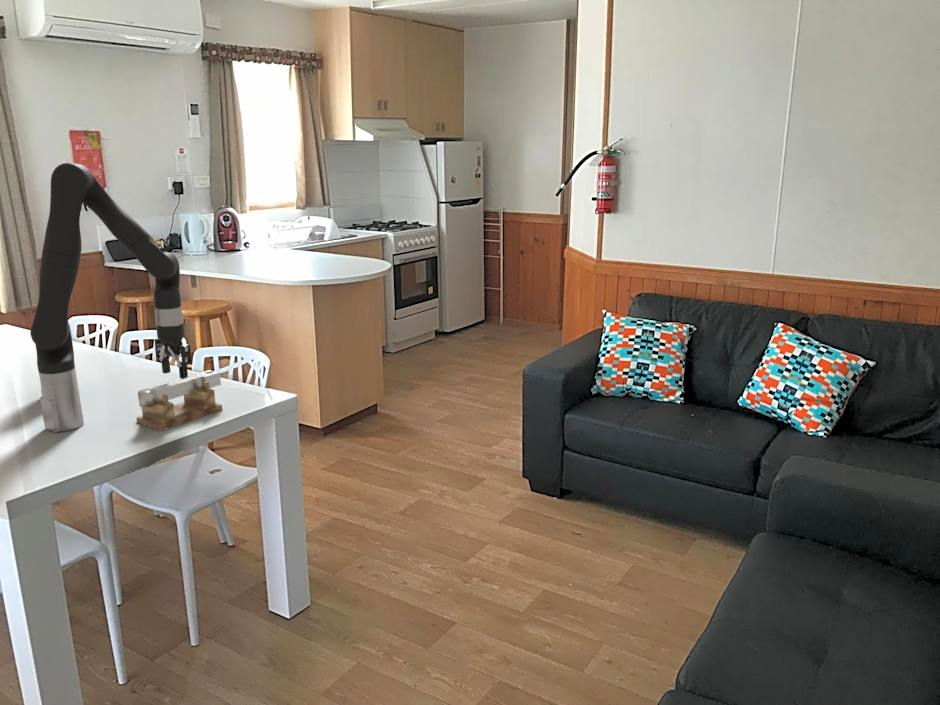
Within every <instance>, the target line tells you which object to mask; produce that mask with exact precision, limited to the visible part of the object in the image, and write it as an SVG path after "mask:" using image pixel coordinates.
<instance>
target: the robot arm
mask: <svg viewBox="0 0 940 705" xmlns="http://www.w3.org/2000/svg"><path fill="white" fill-rule="evenodd" d="M49 198H50V200H49V201H50V204H49V214H48V219H47V224H46V229H45V234H44V241H43V244H42V251H41V252H42V253H41V259H40V269H39V270H40V271H39V284H38V285H39V286H38V287H39V289H38V290H39V291H38V292H39V295H38V302H37V307H36V310H35V314H34V316H33V317H34V318H33V321H32V324H31V327H30V333H29V334H30V338H31V340H32V341H33V343H34V344H36V345H35V351H36V350H37V351H36V359H37V360H36V365H37V371H38V376H39V382H40V390H41V389H42V392H41V396H40V397H39V400H40V407H41V412H42V418H43V423H44V424H43V425H44V428H45V429H46V430H49V431H51V432H53V433H60V432H68V431H71V430H75V429H77V428H80V427H81V426H83V425H84V424H85V421H84V414H83V408H82V403H81V396H80V389H79V384H78V377H77V370H76V365H75V364H76V363H75V352H74V346H73V338H72V330H71V325H70V322H69V318H68V316H69V307H70V305H69V304H70V300H71V296H72V294H73V291H74V287H75V285H76V282H77V277H78V273H79V269H80V262H81V254H82V236H81V234H82V233H81V228H80V226H81V225H80V224H81V223H80V218H81V211H82V206H83V204H84V206H86V207H88V209H89V210H91V211H92V212H93V213H94V214H95V215H96V216H97V217H98V218H99V220H100V221H101V222H102V223H103V224H104V226H106V228H107V229H108V231H109V232H110V233H111V234H112V235H113V236H114V237H115V239H116V240H117V241H118V242H120V243H121V244H122V245H123V246H124V247H125V248H126V249H127V250H128V251H129V252H131V253H132V254H133V255H134V257H135V258H136V259H137V261H138V262H139V263H140V264H141V265H142V267H143V268H144V269H145V271H147V272H148V273H149V275H151V276H152V277H154V279H155V288H154V290H153V299H154V300H153V301H154V308H155V309H154V318H155V319H154V320H155V326H156V327H155V328H156V336H157V338H155V339H154V349H155V350H154V351H155V357H156V358H155V359H158V360H159V361H160V363H161V370H162V374H169V373H171V362H170V357H172V358H173V360H174V361H175V362H176V363H177V365H178V372H179V375H178V376H179V378H180V380H181V379H184V378H187V377H188V376H189V374H188V373H189V371H188V366H190V365H192V364H193V361H192V355H191V354H192V353H191V352H192V351H191V345H190V344H189V343H186V344H184V343H183V339H184V337H186V335H185V334H186V333H185V332H186V331H185V322H184V312H183V309H182V301H181V300H182V299H181V293H180V279H181V278H180V271H181V270H180V263H179V259H178V258H177V257H176V255H175V254H174V253H172V252H168V251H162V250H161V249H160V247H159V246H157V245H156V243H155V240H154V238H153V237H152V236H151V235H150V233H148V231H146V229H144V227H142V226H141V225H140V224H139V223H138V222H137V221H136V220H135V219H134V218H133V217H131V215H130V214H128V213H127V211H125V210H124V209H123V208H122V207H121V206H120V205H119V204H118V203H117V202H116V201H115V200H114V199H113V198H112V197H111V195H110V194H108V192H107V191H106V190H105V189H104V188H103V186H102V185H101V184H100V182H99V181H98V179H97V178H96V177H95V175H93V173H92V172H91V171H90V169H89V168H87V166H85V165H83V164H80V163H75V162H65V163H61V164H59V165H57V166H56V167H55V168H54V169H53V171H52V173H51V177H50V197H49ZM42 395H43V396H42Z"/></svg>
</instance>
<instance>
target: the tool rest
mask: <svg viewBox="0 0 940 705" xmlns="http://www.w3.org/2000/svg"><path fill="white" fill-rule="evenodd" d="M191 376H192V375H191ZM191 376H189V375H188V377H191ZM204 386H205V389H202V390H199V391H196V392H193V393H190V394H186V395H183V400H184V401H183V402H180V403H177V404H174V403H173V402H170V401H169V400H168V395H167V394H164V395H162V397H163V402H161V403H158V404H156V405H155V406H152V407H141V411H142V415H139V416H136V417H135V418H136V423H138V422H140V423H139V424H141V423H142V424H141V425H143V424H145V425H144V426H146V425H147V427H149V426H150V427H149V428H152V427H153V428H152V429H154V428H155V429H154V430H157V429H158V431H160V430H162V431H164V429H165V430H167V429H166V428H168V429H171V428H174V427H176V425H177V426H180V425H182V424H185V423H188V422H192V421H194V420H196V419H200V418H203V417H204V416H208V415H211V414H214V413H216V411H217V412H220V411H222V410H223V405H222V404H221V403H220V404H219V403H217V402H216V396H215V395H216V394H215V393H216V392H215V390H214V389H212V388H210V386H209V382H204ZM146 389H149V388H146ZM219 410H220V411H219ZM199 417H200V418H199ZM179 424H180V425H179ZM173 426H174V427H173ZM170 427H171V428H170Z"/></svg>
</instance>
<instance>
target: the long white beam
mask: <svg viewBox="0 0 940 705" xmlns="http://www.w3.org/2000/svg"><path fill="white" fill-rule="evenodd" d="M204 382H209V386H210V389H212V388H216V387H218V386H221V385H222V383H221V372H220V371H213V370H211V369H208V370H204V371H201V372H198V373H194V375H191V377H187V378H184V379H181V378H180V379H177V380H174V381H172V382H170V381H169V382H168V383H163V384H161V385H157V386H154V387H151V388H148V389H147V388H144V389H140V390H138V391H137V397H138V404H139V405H138V406H139V407H140V408H142V407H152V406H155V405H156V404H158V403H161V402H163V397H162V395H164V394H167V395H168V401H170V400H173V399H177V398H180V397H184V395H186V394H190V393H193V392H196V391H199V390H202V389H205V386H204Z"/></svg>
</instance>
